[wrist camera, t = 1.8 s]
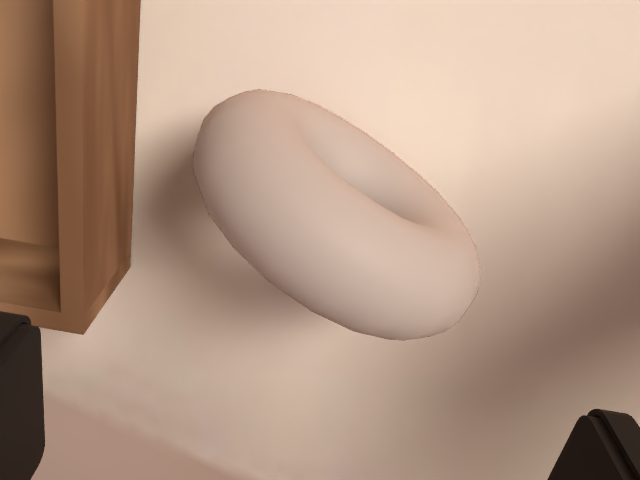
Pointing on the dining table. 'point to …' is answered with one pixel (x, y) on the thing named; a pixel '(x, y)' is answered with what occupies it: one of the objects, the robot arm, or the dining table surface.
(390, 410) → the dining table surface
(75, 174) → the walnut box
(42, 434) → the robot arm
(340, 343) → the dining table surface
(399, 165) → the donut
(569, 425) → the dining table surface
